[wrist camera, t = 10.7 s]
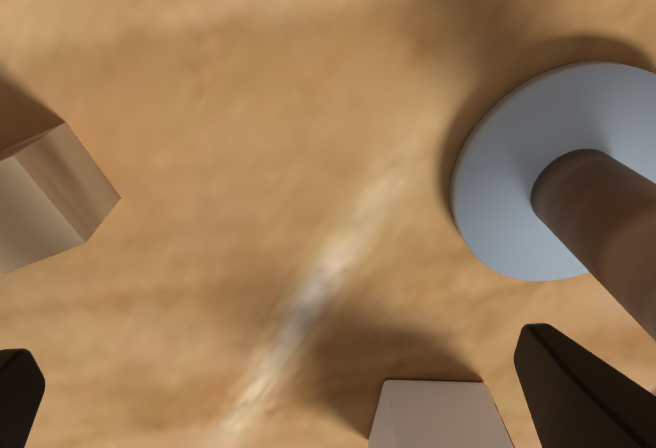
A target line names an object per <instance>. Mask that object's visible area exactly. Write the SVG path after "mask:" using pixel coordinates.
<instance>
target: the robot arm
mask: <svg viewBox="0 0 656 448" xmlns="http://www.w3.org/2000/svg"><path fill="white" fill-rule="evenodd" d="M514 365H515V369H516V372H517V375H518V378H519V381H520V384H521V387H522V390H523V393H524V396H525V399H526V402H527V405H528V408H529V411H530V414H531V417H532V419H533V422H534V425H535V428H536V431H537V434H538V437H539V440H540V443H541V445H542V448H656V396H654V395H653V394H652V393H650V392H649V391H647V390H646V389H644V388H643V387H641V386H640V385H638V384H637V383H635V382H634V381H632V380H631V379H629V378H628V377H626V376H625V375H624V374H622V373H621V372H619V371H618V370H616V369H615V368H613V367H612V366H610V365H609V364H607V363H606V362H604V361H603V360H601V359H600V358H598V357H597V356H595V355H594V354H592V353H591V352H589V351H588V350H587V349H585V348H584V347H582V346H581V345H579V344H578V343H576V342H575V341H573V340H572V339H570V338H569V337H567V336H566V335H564V334H563V333H561V332H560V331H558V330H557V329H555V328H554V327H553V326H551V325H549V324H546V323H536V324H526V325H524V326H523V327H522V330H521V333H520V336H519V339H518V343H517V346H516V349H515V353H514ZM44 391H45V379H44V376H43V374H42V372H41V371H40V369H39V367H38V365H37V363H36V361H35V359H34V357H33V356H32V354H31V352H30V351H28V350H27V349H23V348H21V349H4V350H0V448H24V447H25V444H26V441H27V439H28V436H29V433H30V430H31V428H32V425H33V422H34V419H35V416H36V414H37V411H38V408H39V405H40V403H41V400H42V397H43V394H44Z"/></svg>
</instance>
